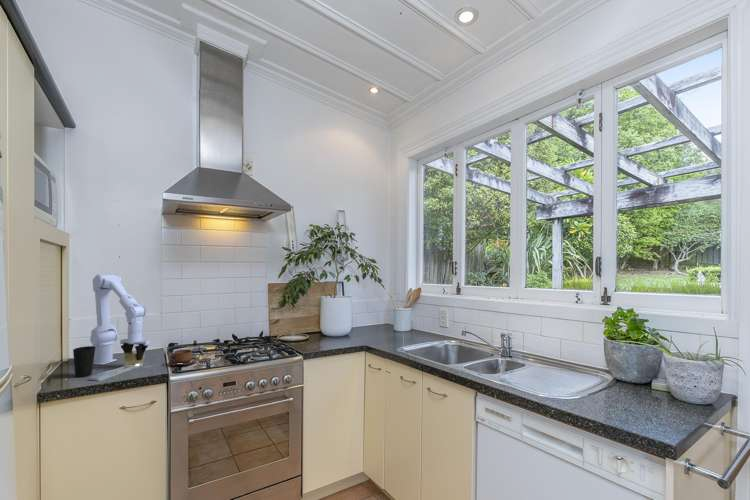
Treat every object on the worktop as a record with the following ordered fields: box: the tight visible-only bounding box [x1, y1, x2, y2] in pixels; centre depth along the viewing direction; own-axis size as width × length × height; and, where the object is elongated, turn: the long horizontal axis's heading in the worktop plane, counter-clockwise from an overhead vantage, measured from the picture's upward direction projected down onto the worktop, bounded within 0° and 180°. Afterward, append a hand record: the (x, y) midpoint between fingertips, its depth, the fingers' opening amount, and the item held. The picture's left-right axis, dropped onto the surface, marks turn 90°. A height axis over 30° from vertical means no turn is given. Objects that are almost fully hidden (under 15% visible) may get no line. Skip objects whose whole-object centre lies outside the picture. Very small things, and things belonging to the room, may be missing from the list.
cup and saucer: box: [168, 349, 198, 367], centre depth 171 cm, size 12×12×6 cm
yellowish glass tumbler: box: [123, 349, 146, 365], centre depth 165 cm, size 6×6×5 cm
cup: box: [72, 345, 96, 379], centre depth 152 cm, size 8×8×12 cm
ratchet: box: [90, 362, 144, 382], centre depth 157 cm, size 7×22×5 cm, turn 169°
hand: (134, 359), depth 165 cm, fingers closed on yellowish glass tumbler, 6 cm apart
